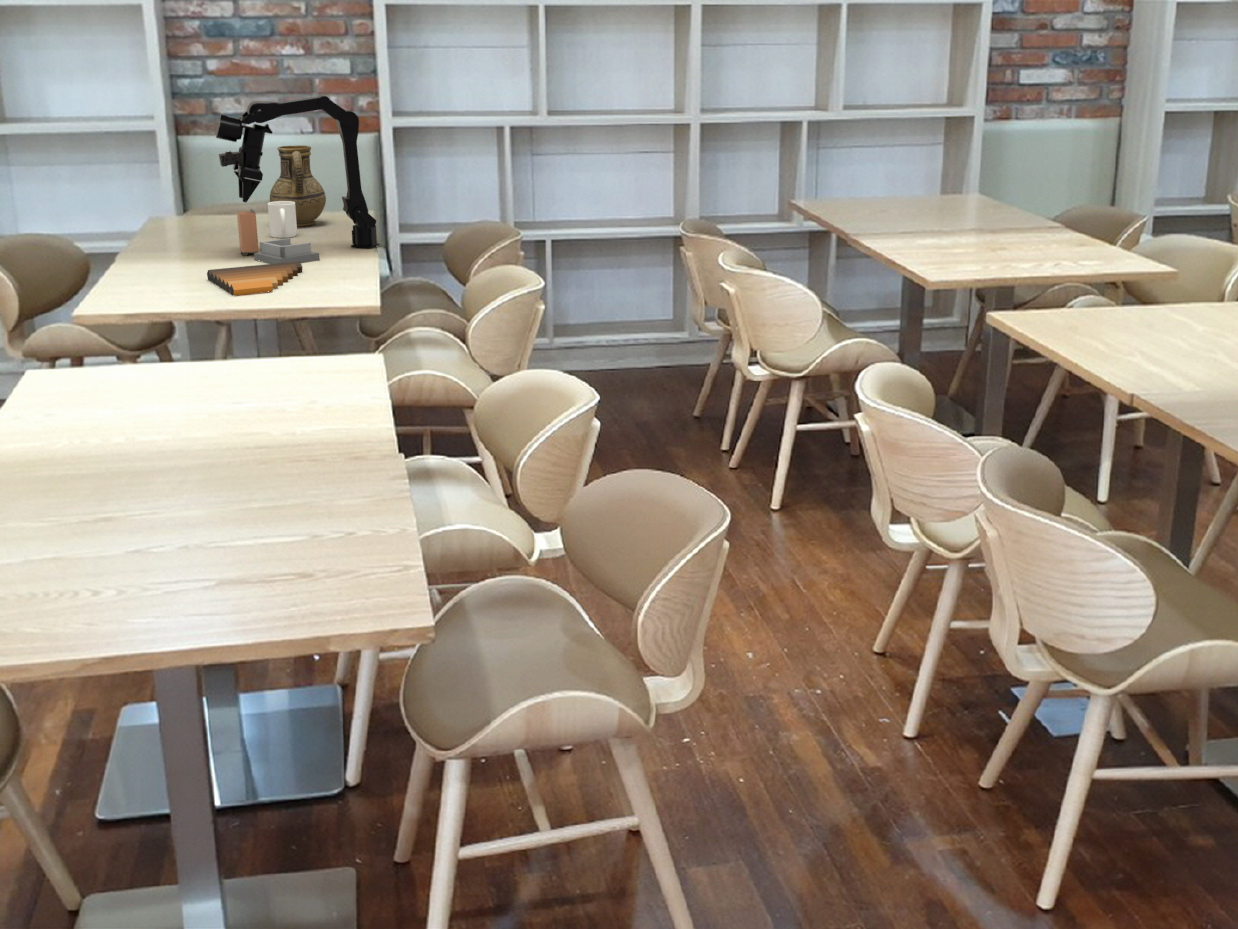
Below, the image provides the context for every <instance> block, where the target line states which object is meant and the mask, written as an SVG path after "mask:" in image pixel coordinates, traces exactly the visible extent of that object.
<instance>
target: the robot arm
mask: <svg viewBox="0 0 1238 929" xmlns="http://www.w3.org/2000/svg"><path fill="white" fill-rule="evenodd" d="M320 110H322V111H323V112H325V113H326V114H327V115H328V116H330V117H331V118H332V119H333V120H335V124H336V127H337V131H338V134H339V137H340V139H341V143H342V150H343V159H344V170H345V177H346V178H345V179H346V186H347V187H346V188H347V190H346V191H347V192H346V196H342V197H341V199H342V202H343V208H342V210H343V212H344V213H345V215H346V216H347V217H348V218H349V219H351V221H352V222H353V224H354V225H352V230H351V239H352V240H351V241H352V244H351V245H350V247H351V248H361V249H372V248H374V247H377V246H380V245H381V243H380V242H378V237H377V235H378V234H377V225H376V224H377V219H376V218H375V217H373V216H372V215H371V214H370V213H369V209H368V205H367V200H366V199H365V195H364V193H363V190H362V182H361V173H360V172H361V170H360V164H359V163H360V162H359V155H358V153H359V152H358V137H359V132H360V130H359V128H360V119H359V116H358V115H357V114H356V113H355V112H353V111H351V110H350V109H344V108H342V107H341V106H340V105H339V104H337V103H336V102H334V101H332V100H331V99H330V97H329V96H327V95H325V94H319V95H316V96H309V97H304V98H302V97H301V98H297V99H290V100H289V99H288V100H283V101H269V100H266V101H265V100H255V101H251V102H250V103H249V104H248V106H247V108H246V111H245V112H244V113H243V114H242V115H240V116H239V117H238V118H237V117H233V116H228V115H226V114H223V113H221V114H220V115H219V119H218V123H217V124H216V130H215V139H219V140H224V141H228V142H232V143H237V140H241V141H242V142H241V146H240V147H239V148H238V151H231V150H229V151H225V152H224V153H218V159H219V164H220V166H221V167H222V168H223V167H227V166H233V167H232V170H233V173H234V174H235V175H236V178H237V182H238V183H237V184H238V198H240V199H242V203H247V202H248V201H249V199H250V198H251V197H252V195H253V193H254V192H255V191H256V189H257V188H258V187H259V185H260V184H261V182H262V181H263V176H264V173H263V172H262V171H261V166H260V165H261V159H262V156H263V148H264V141H265V135H266V134H269V135H270V134H271V135H272V134H273V131H272V129H271V128H270V125H269V124H268V123H266V122H269V121H272V120H275V119H277V118H280V117H282V116H287V115H295V114H300V113H301V114H302V113H307V112H308V113H309V112H315V111H320ZM256 123H257V124H256ZM263 123H265V125H262V124H263ZM244 124H245V125H244ZM251 124H253V125H252V126H250V125H251ZM260 124H261V125H260ZM243 130H244V132H243ZM242 135H243V136H242Z"/></svg>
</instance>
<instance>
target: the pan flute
mask: <svg viewBox="0 0 1238 929" xmlns="http://www.w3.org/2000/svg"><path fill="white" fill-rule="evenodd" d="M299 273H300V274H301V273H303V264H302V263H301V262H300V261H296V262H286V263H275V264H269V263H265V264H257V265H246V266H236V267H235V266H234V267H223V268H214V269H207V273H206V276H207V280H208V281H209V282H211V283H212V282H213V283H212V284H214V283H215V284H214V285H216V286H217V287H219V288H220V289H222V290H224V291H225V290H226V292H227V293H229V294H231V295H232V296H233V295H238V296H244V295H245V294H247V295H253V294H252V293H257V294H261V293H260V292H266V293H269V292H268V291H273V290H274V289H273V288H277V289H279V286H283V285H284V283H288V282H289V280H290V279H291V280H292V279H293V278H294V276H295V277H296V276H298V274H299ZM245 296H246V295H245Z"/></svg>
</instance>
